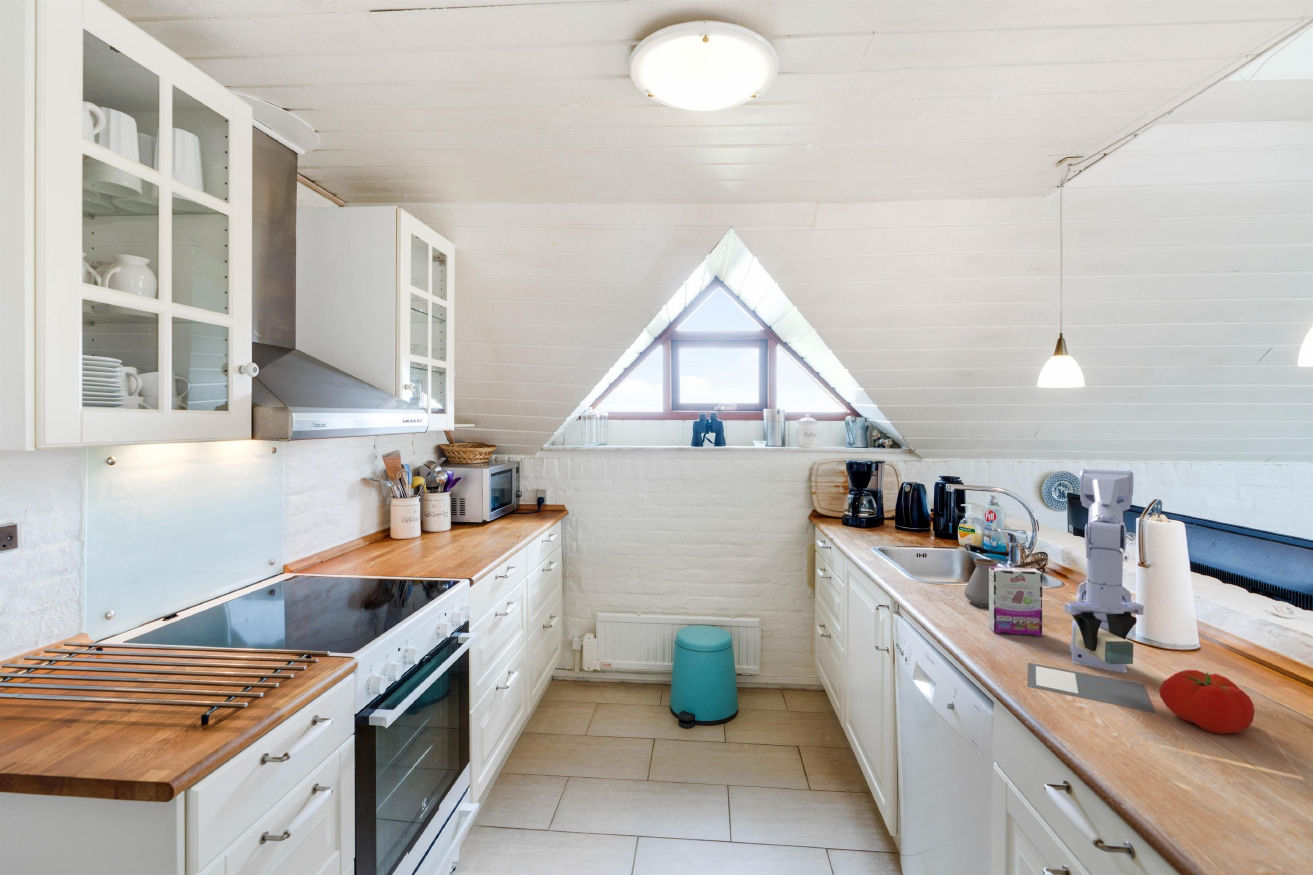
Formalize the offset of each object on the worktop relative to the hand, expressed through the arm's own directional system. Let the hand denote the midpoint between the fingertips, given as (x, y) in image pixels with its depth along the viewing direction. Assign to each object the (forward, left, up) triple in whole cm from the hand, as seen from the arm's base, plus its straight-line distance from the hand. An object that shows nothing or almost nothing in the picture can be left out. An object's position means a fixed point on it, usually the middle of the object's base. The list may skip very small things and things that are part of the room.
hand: (1102, 649), depth 117 cm
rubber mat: (-3, 0, -8) cm, 9 cm away
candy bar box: (-16, +29, -9) cm, 34 cm away
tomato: (+14, -6, -9) cm, 18 cm away
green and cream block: (0, 0, -1) cm, 1 cm away
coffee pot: (-19, +53, -9) cm, 57 cm away
